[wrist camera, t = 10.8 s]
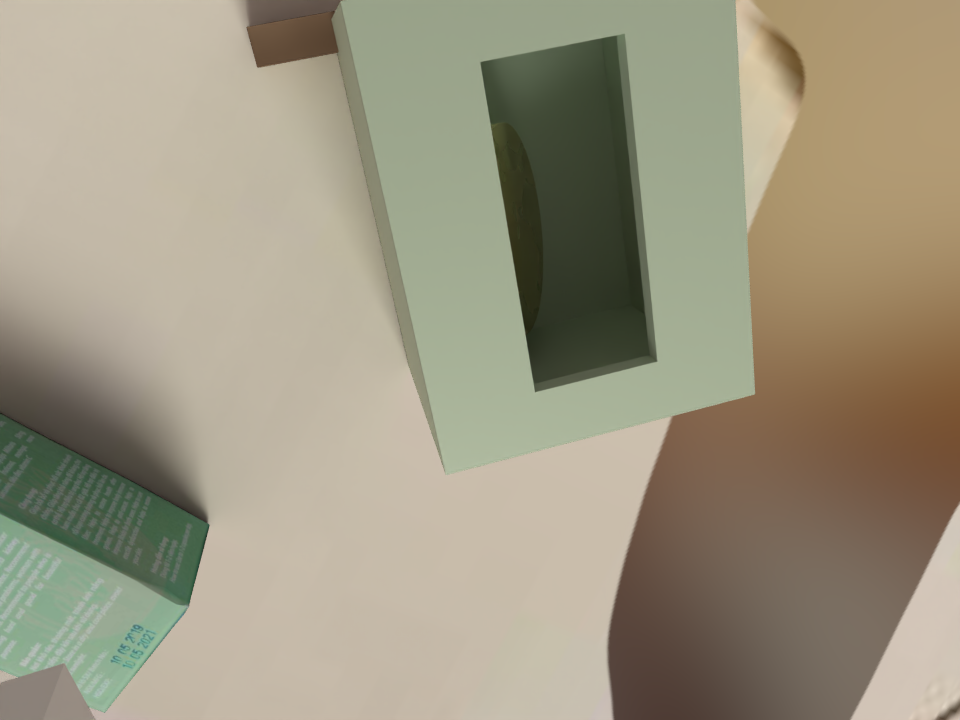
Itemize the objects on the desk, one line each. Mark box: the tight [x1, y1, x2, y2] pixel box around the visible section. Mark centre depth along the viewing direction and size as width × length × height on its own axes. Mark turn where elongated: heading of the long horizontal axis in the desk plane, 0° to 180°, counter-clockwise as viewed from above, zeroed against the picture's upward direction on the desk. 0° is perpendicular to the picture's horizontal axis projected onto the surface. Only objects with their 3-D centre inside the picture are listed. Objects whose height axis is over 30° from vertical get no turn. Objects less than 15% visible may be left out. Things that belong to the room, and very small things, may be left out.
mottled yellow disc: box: [491, 122, 543, 335], centre depth 34 cm, size 3×9×9 cm
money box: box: [331, 0, 755, 475], centre depth 34 cm, size 17×13×12 cm
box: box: [0, 414, 209, 713], centre depth 37 cm, size 7×14×8 cm, turn 51°
